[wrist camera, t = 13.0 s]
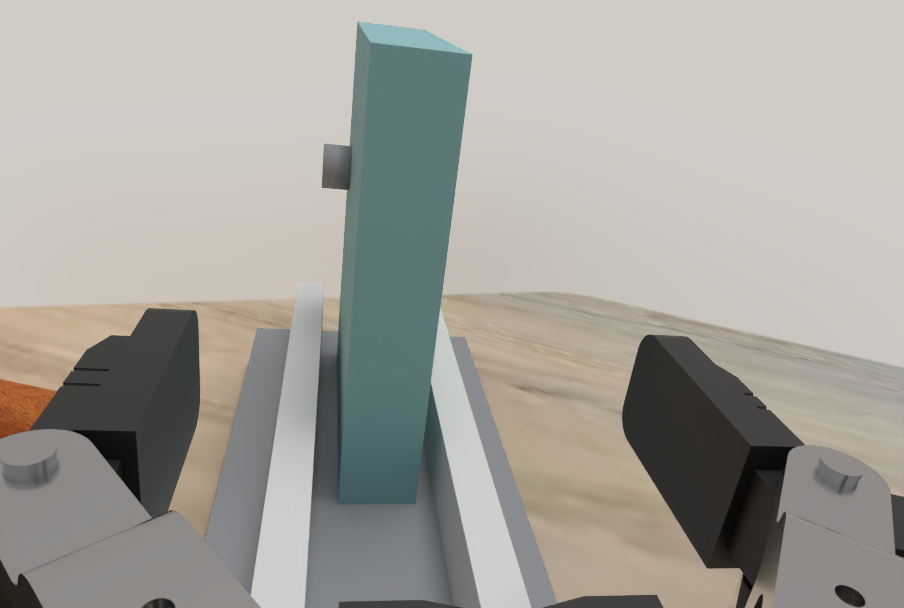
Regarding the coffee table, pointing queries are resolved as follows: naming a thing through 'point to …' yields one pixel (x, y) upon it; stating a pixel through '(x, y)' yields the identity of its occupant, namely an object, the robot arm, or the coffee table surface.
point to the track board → (367, 525)
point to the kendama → (21, 406)
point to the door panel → (393, 251)
